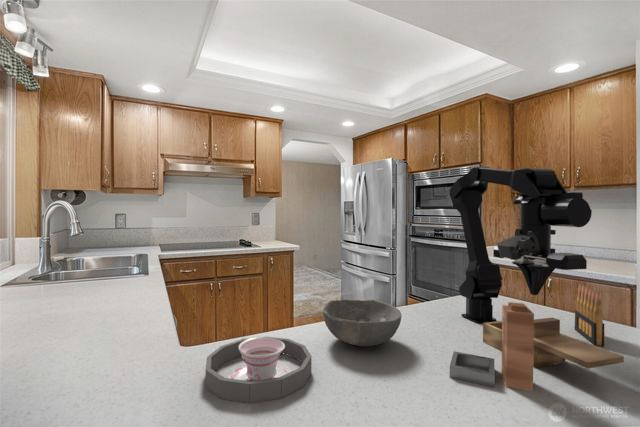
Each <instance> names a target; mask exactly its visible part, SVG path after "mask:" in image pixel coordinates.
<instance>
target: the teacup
mask: <svg viewBox="0 0 640 427" xmlns="http://www.w3.org/2000/svg"><path fill="white" fill-rule="evenodd" d="M267 337H268V336H259V338H258V337H251V338H252V339H248V338H247V339H248V340H245V341H243V342H241V343H240V344H239V347H238V348H239V351H240V354H241V355H242V356H241V358H242V360H243V361H244V363H245V364H244V365H243V366H240V367H237V368H235V369H234V370H233V371H231V372H230V373H229V374H228V376H227V377H226V378H230V379H237V380H245V381H248V380H249V379H250V380H251V381H257V380H264V379H271V378H278V377H281V376H283V375H285V374H287V373H290V372H292V371H293V370H292V369H291V368H290V367H289V366H286V365H284V364H283V363H278V360H279V358H280V355H282V354H281V353H282V351H283V349H284V348H285V344H284V343H283V342H282V341H280V340H278V339H274V338H267ZM277 367H278V368H279V369H281V370H283V371H284V372H285V373H283V374H281V375H280V373H281V372H279V373H278V371H277ZM279 375H280V376H279ZM247 379H248V380H247Z"/></svg>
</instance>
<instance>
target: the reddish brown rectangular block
mask: <svg viewBox="0 0 640 427" xmlns="http://www.w3.org/2000/svg"><path fill="white" fill-rule="evenodd" d="M507 303H508V304H502V305H501V306H502V307H501V310H502V311H501V314H502V315H501V316H502V317H501V318H502V319H501V321H502V351H501V378H502V381H503V383H504V385H505V387H507V388H513V389H518V390H525V391H534V367H533V351H534V320H535V313H534V312H533V311H532V310H531V308H529V307H528V305H526V304H525V303H524V302H522V303H521V302H511V301H510V302H509V301H508V302H507Z"/></svg>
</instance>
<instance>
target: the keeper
mask: <svg viewBox="0 0 640 427" xmlns="http://www.w3.org/2000/svg"><path fill="white" fill-rule="evenodd" d="M460 365H463V366H460ZM466 366H468V367H466ZM471 367H474V368H471ZM475 368H478V369H475ZM495 368H496V367H495V358H492V357H487V356H481V355H475V354H470V353H465V352H460V351H455V350H454V351H453V353H452V357H451V360H450V364H449V378H453V379H456V380H461V381H465V382H468V383H469V382H470V383H475V384H479V385H483V386H488V387H493V388H495V385H496V384H495V378H496V377H495V376H496V375H495V374H496V373H495ZM480 369H481V370H480ZM485 370H487V371H485Z"/></svg>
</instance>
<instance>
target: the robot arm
mask: <svg viewBox="0 0 640 427" xmlns="http://www.w3.org/2000/svg"><path fill="white" fill-rule="evenodd" d="M476 182H478V183H476ZM489 184H495V185H502V186H507V187H509V188H510V189H511V190H512V191H514V192H517V193H519V194H520V195H519V196H518V197H517V198H516V199H515V200H514V201H513V205H520V224H519V225H520V226H519V227H520V228H516V229H515V230H514V236H511V237H508V238H506V239H504V240H502V241H500V242H498V243H496V246H495V247H494V248H493V257H494V258H498V259H504V258H505V259H509V260H511V263H512V265H515V266H517V267H518V268H519V269H520V270H521V273H522V274H523V277H524V279H525V282H526V285H527V287H528V290H529V293H530V295H532V296H538V295H539V293H540V292H541V290H542V289H543V287H544V285H545V284H546V281H547V280H548V279H549V277H550V276H551V275H552V273H554V271H555V269H557V270H563V271H570V270H571V271H572V270H587V266H588V265H587V264H588V263H587V262H588V261H587V259H586V257H585V256H584V255H583V254H579V253H573V252H571V253H570V252H556V248H553V247H552V245H551V244H552V242H551V240H552V235H553V236H554V235H556V233H557V232H556V231H557V230H556V229H552V226H553V227H568V228H582V227H585V226H586V225H588V224H589V223H590V221H591V218H592V213H593V212H592V210H593V209H592V208H591V206H590V204H589V202H587V200H585V199H584V198H583V196H584V195H583V194H584V193H583V192H578V191H577V192H576V191H574V192H572V191H571V192H568V191H567V190H566V189H565V187H564V186H563V184H562V183H561V181H560V180H559V178H558V177H557V173H556V171H555V170H554V169H551V168H538V167H537V168H536V167H533V168H532V167H525V168H524V167H523V168H515V169H514V170H513V169H502V168H492V167H489V166H474V167H471V169H469V172H468V173H466V174H464V175H462V176H461V177H459V178H458V179H456V181H455V182H454V183H453V185H452V186H451V187H450V189H449V197H450V199H451V203H452V206H453V207H454V208H455V209H456V210H457V211H458V213H459V214H460V219H461V223H462V228H463V230H462V231H463V235H464V239H465V244H466V250H467V255H468V260H469V263H468V265H467V268H466V270H465V280H464V281H463V282H462V283H461V285H460V286H459V287H458V289H459V294H460V295H459V296H462V297H464V298H465V313H461V314H460V315H461V317H463V318H465V319H467V320H470V321H472V322H474V323H477V324H478V323H479V324H481V323H482V324H483V323H489V322H497V318H495V317H493V315H494V313H493V310H494V308H493V307H494V305H493V304H492V303H493V299H494V298H495V299H498V298H499V295H500V293H501V292H500V291H501V288H502V285H503V283H502V282H503V277H502V274H501V268H500V266H499V264H494V263H493V262H492V261H491V260H490V257H489V253H488V247H487V243H486V237H485V232H484V229H483V224H482V220H481V216H480V208H481V205H482V204H483V195H484V194H485V193H486V192H487V190H488V189H489V188H488V187H489Z"/></svg>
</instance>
